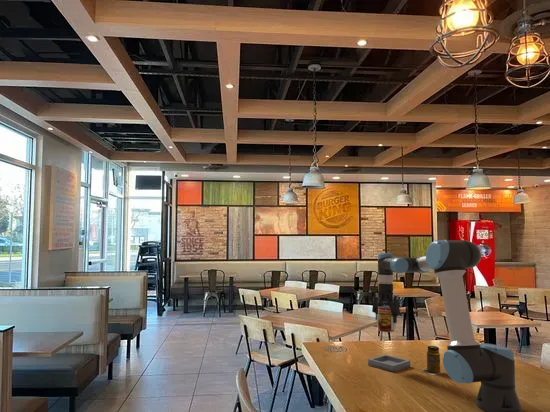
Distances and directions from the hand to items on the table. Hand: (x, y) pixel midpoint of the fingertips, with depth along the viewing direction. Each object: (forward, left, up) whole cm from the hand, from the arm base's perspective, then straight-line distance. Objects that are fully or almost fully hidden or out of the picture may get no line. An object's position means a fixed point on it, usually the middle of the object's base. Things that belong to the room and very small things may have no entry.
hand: (386, 328), depth 212 cm
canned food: (0, 0, -1) cm, 1 cm away
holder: (+2, 0, -19) cm, 19 cm away
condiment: (+10, -19, -19) cm, 29 cm away
